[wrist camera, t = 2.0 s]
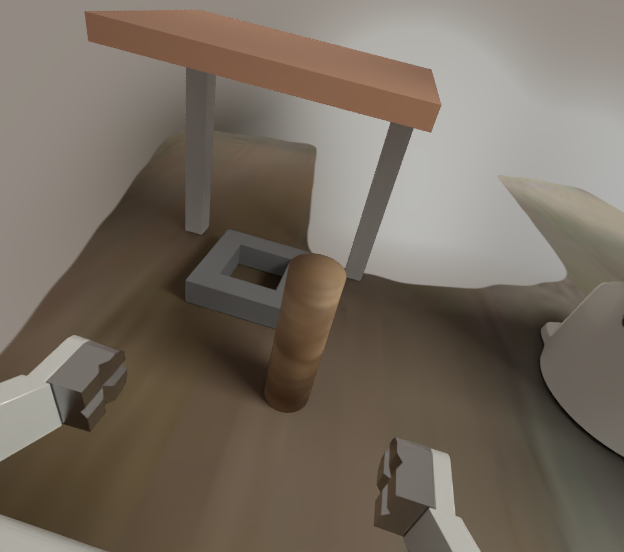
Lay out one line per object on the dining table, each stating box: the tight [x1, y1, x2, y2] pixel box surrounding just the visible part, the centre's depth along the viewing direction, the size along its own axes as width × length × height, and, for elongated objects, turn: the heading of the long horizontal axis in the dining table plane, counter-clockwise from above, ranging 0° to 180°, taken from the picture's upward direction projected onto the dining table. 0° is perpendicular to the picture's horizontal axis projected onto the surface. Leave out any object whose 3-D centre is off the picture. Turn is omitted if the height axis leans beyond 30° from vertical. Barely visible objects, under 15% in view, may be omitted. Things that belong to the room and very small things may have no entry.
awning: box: [85, 10, 441, 329], centre depth 34 cm, size 15×21×22 cm
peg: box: [264, 253, 346, 413], centre depth 27 cm, size 4×4×12 cm
